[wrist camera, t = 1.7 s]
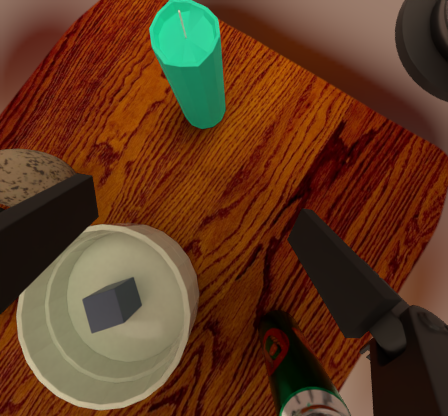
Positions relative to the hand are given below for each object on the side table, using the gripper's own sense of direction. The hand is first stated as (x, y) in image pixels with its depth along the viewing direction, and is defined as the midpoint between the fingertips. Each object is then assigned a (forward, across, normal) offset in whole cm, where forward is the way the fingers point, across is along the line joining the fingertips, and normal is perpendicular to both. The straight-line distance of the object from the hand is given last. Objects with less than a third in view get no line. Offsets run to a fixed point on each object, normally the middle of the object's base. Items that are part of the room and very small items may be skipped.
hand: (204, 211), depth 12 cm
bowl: (+6, -8, -18) cm, 21 cm away
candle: (+19, -1, +6) cm, 20 cm away
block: (+6, -8, -18) cm, 21 cm away
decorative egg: (+16, -18, -8) cm, 26 cm away
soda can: (+2, +12, -17) cm, 21 cm away
